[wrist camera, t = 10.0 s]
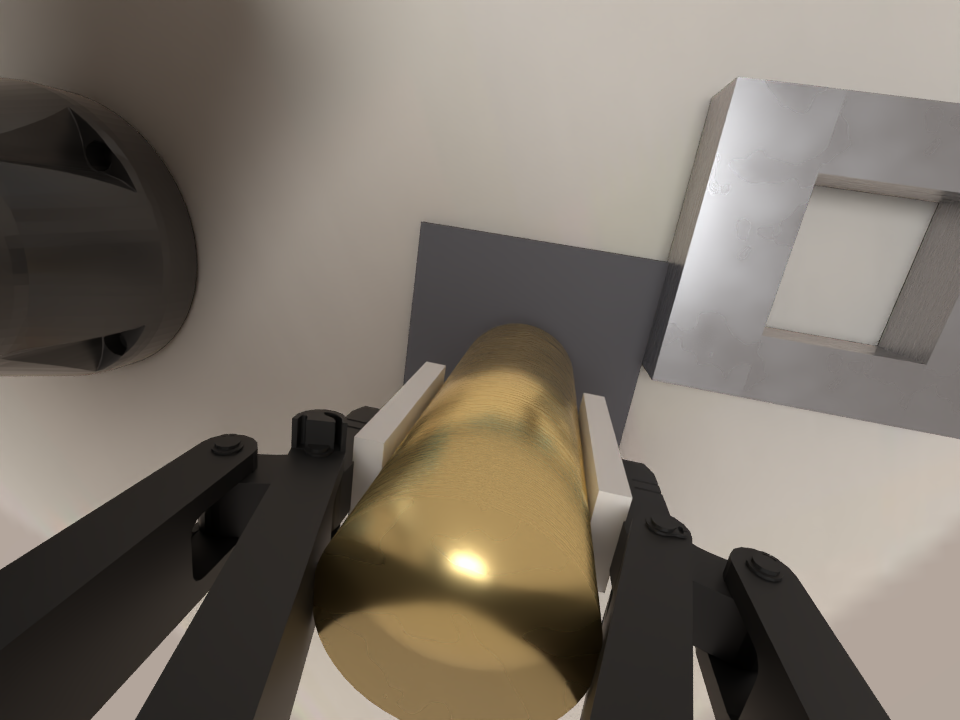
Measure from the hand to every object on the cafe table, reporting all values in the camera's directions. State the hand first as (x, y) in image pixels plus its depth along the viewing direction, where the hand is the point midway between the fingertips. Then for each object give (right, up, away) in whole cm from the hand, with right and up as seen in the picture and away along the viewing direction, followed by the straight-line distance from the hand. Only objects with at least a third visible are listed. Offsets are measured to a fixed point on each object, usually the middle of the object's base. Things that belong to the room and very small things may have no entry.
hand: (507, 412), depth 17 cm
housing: (+15, +6, +4) cm, 17 cm away
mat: (+1, +2, +7) cm, 7 cm away
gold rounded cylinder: (+1, +1, +4) cm, 4 cm away
